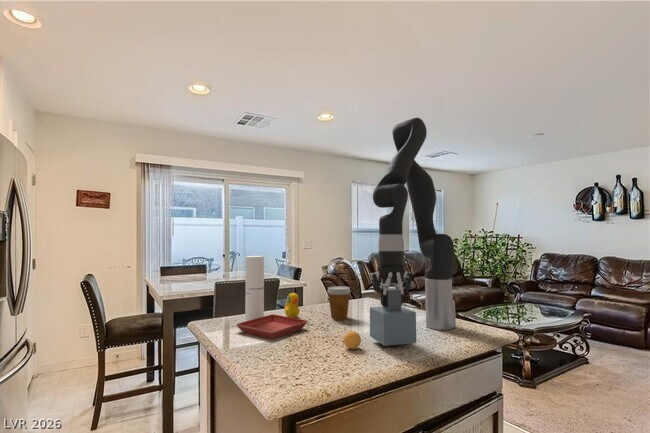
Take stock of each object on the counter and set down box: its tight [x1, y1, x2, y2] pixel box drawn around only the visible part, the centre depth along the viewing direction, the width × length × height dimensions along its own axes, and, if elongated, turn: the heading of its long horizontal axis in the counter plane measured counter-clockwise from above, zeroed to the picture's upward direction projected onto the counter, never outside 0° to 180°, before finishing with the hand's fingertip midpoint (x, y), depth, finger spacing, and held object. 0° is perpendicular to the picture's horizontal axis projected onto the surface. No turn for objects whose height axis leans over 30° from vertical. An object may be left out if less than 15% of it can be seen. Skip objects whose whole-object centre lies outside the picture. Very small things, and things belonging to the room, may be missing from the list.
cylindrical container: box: [244, 255, 265, 322], centre depth 138 cm, size 7×7×25 cm
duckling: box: [284, 292, 300, 319], centre depth 141 cm, size 11×5×10 cm, turn 21°
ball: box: [343, 330, 362, 350], centre depth 101 cm, size 5×5×5 cm
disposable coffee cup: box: [326, 285, 352, 321], centre depth 140 cm, size 10×10×12 cm
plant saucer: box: [235, 313, 308, 340], centre depth 122 cm, size 18×18×3 cm
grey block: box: [369, 287, 417, 347], centre depth 105 cm, size 10×10×15 cm
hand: (391, 306), depth 105 cm, fingers closed on grey block, 4 cm apart
